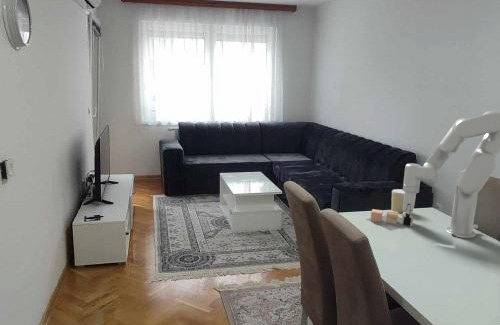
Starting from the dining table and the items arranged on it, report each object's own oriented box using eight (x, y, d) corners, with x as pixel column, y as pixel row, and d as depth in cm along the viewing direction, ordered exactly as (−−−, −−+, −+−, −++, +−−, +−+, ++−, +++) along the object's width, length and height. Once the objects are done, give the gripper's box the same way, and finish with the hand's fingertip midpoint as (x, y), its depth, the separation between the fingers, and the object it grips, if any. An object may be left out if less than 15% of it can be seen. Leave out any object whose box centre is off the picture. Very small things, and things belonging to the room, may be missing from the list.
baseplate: (392, 216, 214) (392, 214, 214) (418, 226, 199) (418, 224, 199) (365, 220, 206) (365, 219, 206) (389, 232, 191) (390, 230, 191)
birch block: (402, 221, 204) (403, 211, 203) (412, 222, 202) (413, 213, 201) (401, 224, 200) (402, 214, 199) (412, 225, 198) (413, 216, 197)
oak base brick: (386, 219, 206) (387, 210, 205) (397, 221, 204) (398, 212, 203) (385, 222, 201) (386, 213, 200) (396, 224, 199) (397, 214, 198)
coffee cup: (410, 214, 217) (412, 193, 215) (393, 214, 217) (395, 193, 215) (403, 209, 227) (406, 189, 224) (387, 209, 227) (389, 188, 224)
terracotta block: (371, 218, 207) (372, 209, 206) (381, 219, 206) (382, 210, 204) (370, 221, 203) (371, 211, 202) (380, 222, 201) (381, 213, 200)
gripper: (403, 183, 206) (400, 216, 210) (401, 191, 191) (398, 227, 195) (419, 185, 203) (415, 219, 207) (418, 193, 188) (414, 229, 192)
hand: (407, 222), depth 201 cm, fingers closed on birch block, 4 cm apart
